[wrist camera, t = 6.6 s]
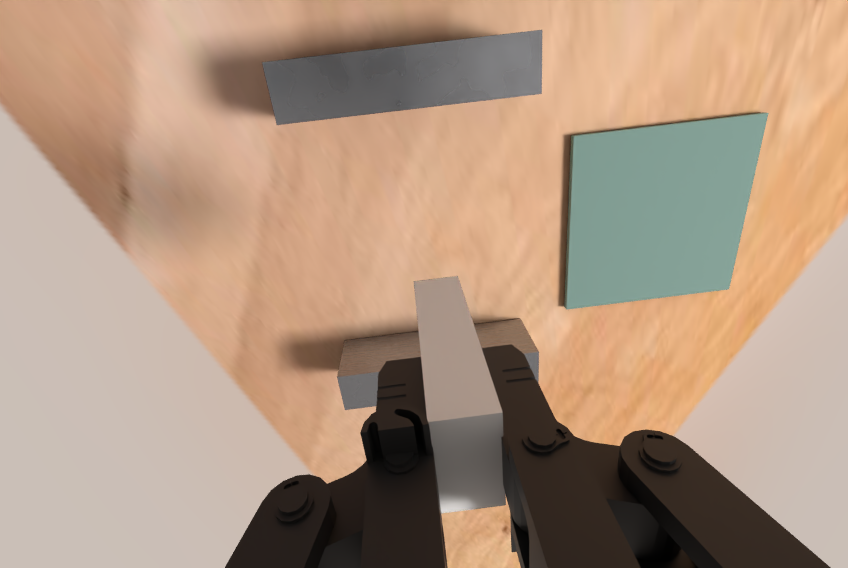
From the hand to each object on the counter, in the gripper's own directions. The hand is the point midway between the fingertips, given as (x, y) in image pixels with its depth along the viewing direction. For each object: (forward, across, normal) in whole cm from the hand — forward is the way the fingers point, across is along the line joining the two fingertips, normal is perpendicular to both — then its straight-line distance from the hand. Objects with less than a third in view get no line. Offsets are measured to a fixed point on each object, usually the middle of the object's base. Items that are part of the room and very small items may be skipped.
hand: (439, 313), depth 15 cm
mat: (+12, +14, -2) cm, 19 cm away
